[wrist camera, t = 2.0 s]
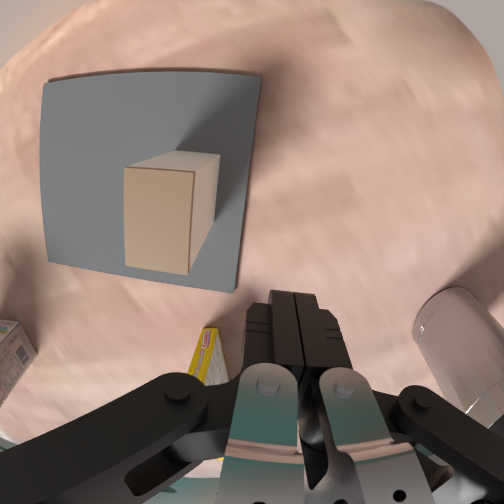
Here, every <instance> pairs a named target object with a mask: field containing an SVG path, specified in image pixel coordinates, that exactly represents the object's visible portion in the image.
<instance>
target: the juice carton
mask: <svg viewBox="0 0 504 504" xmlns="http://www.w3.org/2000/svg"><path fill="white" fill-rule="evenodd" d="M36 357H37V353H36V351H35V350H34V348H33V346H32V344H31V342H30V340H29V338H28V336H27V335H26V333H25V331H24V329H23V327H22V325H21V322H20V321H11V320H3V319H0V407H1V405H2V404H3V403H4V401H5V400H6V398H7V397H8V395H9V394H10V392H11V391H12V389H13V388H14V387H15V385H16V384H17V382H18V381H19V380H20V378H21V377H22V375H23V374H24V373H25V371H26V370H27V369H28V367H29V366H30V365H31V363H32V362H33V361H34V359H35V358H36Z"/></svg>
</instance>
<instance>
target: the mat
mask: <svg viewBox="0 0 504 504" xmlns="http://www.w3.org/2000/svg"><path fill="white" fill-rule="evenodd" d="M261 79H262V77H257V76H248V75H238V74H226V73H210V72H178V71H165V72H133V73H118V74H106V75H97V76H88V77H80V78H73V79H67V80H61V81H55V82H49V83H44V86H43V95H42V106H41V121H40V188H41V204H42V215H43V225H44V233H45V241H46V248H47V255H48V261H49V262H53V263H58V264H63V265H68V266H73V267H78V268H83V269H88V270H93V271H99V272H104V273H109V274H115V275H120V276H126V277H132V278H137V279H143V280H149V281H155V282H161V283H167V284H174V285H180V286H186V287H193V288H200V289H206V290H213V291H220V292H227V293H234V289H235V281H236V272H237V264H238V256H239V247H240V239H241V231H242V223H243V215H244V207H245V199H246V191H247V183H248V175H249V168H250V160H251V152H252V145H253V137H254V130H255V123H256V115H257V108H258V101H259V93H260V86H261ZM171 151H188V152H200V153H211V154H220V155H221V156H220V165H219V175H218V184H217V194H216V205H215V216H214V223H213V225H212V227H211V229H210V231H209V233H208V235H207V237H206V239H205V241H204V243H203V245H202V247H201V249H200V251H199V253H198V255H197V257H196V259H195V261H194V263H193V265H192V267H191V269H190V271H189V273H188V275H181V274H174V273H168V272H161V271H155V270H149V269H143V268H136V267H130V266H126V263H125V244H124V168H125V167H128V166H130V165H133V164H136V163H139V162H141V161H144V160H147V159H150V158H153V157H156V156H159V155H162V154H165V153H168V152H171Z"/></svg>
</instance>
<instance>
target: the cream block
mask: <svg viewBox="0 0 504 504" xmlns="http://www.w3.org/2000/svg"><path fill="white" fill-rule="evenodd" d="M220 156H221V155H220V154H211V153H200V152H188V151H171V152H168V153H165V154H162V155H159V156H156V157H153V158H150V159H147V160H144V161H141V162H139V163H136V164H133V165H130V166H128V167H125V168H124V244H125V263H126V266H130V267H136V268H143V269H149V270H155V271H161V272H168V273H174V274H181V275H188V273H189V271H190V269H191V267H192V265H193V263H194V261H195V259H196V257H197V255H198V253H199V251H200V249H201V247H202V245H203V243H204V241H205V239H206V237H207V235H208V233H209V231H210V229H211V227H212V225H213V223H214V216H215V205H216V194H217V184H218V175H219V165H220Z"/></svg>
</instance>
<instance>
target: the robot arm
mask: <svg viewBox="0 0 504 504" xmlns="http://www.w3.org/2000/svg"><path fill="white" fill-rule="evenodd" d="M413 337H414V340H415V342H416V344H417V345H418V347H419V349H420V351H421V353H422V354H423V356H424V358H425V360H426V362H427V364H428V366H429V368H430V370H431V372H432V373H433V375H434V377H435V379H436V381H437V383H438V385H439V387H440V389H441V391H442V393H443V395H444V397H445V399H446V400H445V399H443V398H442V397H440V396H439V395H437V394H436V393H434V392H433V391H432V390H430V389H428V388H426V387H423V386H419V385H412V386H408V387H406V388H404V389H403V390H402V391H401V393H400V394H399V396H395V395H390V394H386V393H381V392H377V391H374V390H372V389H371V387H370V385H369V383H368V381H367V380H366V378H365V377H364V376H363V375H361V374H360V373H358V372H356V371H354V370H353V367H352V364H351V361H350V358H349V355H348V352H347V349H346V345H345V342H344V340H343V336H342V333H341V331H340V327H339V324H338V321H337V319H336V318H335V317H334V316H333V315H332V314H331V312H330V311H329V310H325V309H319V307H318V303H317V299H316V296H315V294H308V293H299V292H293V293H292V292H289V291H280V290H270V294H269V299H268V304H264V303H256V302H254V303H253V304H252V305H251V306H250V308H249V309H248V310H247V314H246V321H245V328H244V335H243V342H242V352H241V364H240V373H239V374H238V375H237V376H236V377H235V378H234V379H232V380H231V381H229V382H226V383H223V384H218V385H209V386H205V385H204V383H203V382H202V381H200V380H199V379H198V378H196V377H194V376H192V375H190V374H186V373H180V372H172V373H167V374H163V375H161V376H159V377H157V378H155V379H153V380H151V381H150V382H148V383H146V384H144V385H142V386H140V387H138V388H136V389H135V390H133V391H131V392H129V393H127V394H125V395H123V396H121V397H119V398H117V399H115V400H113V401H111V402H109V403H108V404H106V405H104V406H102V407H100V408H98V409H96V410H94V411H91V412H89V413H87V414H85V415H83V416H81V417H79V418H77V419H75V420H73V421H71V422H69V423H66V424H64V425H62V426H60V427H58V428H56V429H53V430H51V431H49V432H47V433H45V434H42V435H40V436H38V437H36V438H33V439H31V440H29V441H26V442H24V443H22V444H19V445H17V446H14V447H12V448H10V449H7V450H5V451H2V452H0V504H142V503H144V502H145V501H147V500H148V499H150V498H151V497H153V496H155V495H156V494H158V493H159V492H161V491H162V490H164V489H165V488H167V487H168V486H170V485H171V484H173V483H174V482H176V481H177V480H179V479H180V478H182V477H183V476H184V475H186V474H187V473H189V472H190V471H191V470H193V469H194V468H195V467H197V466H198V465H200V464H201V463H202V462H203V460H210V459H217V458H223V457H224V460H223V465H222V470H221V474H220V480H219V484H218V490H217V494H216V499H215V504H504V329H503V328H502V326H501V325H500V324H499V323H498V322H497V321H496V319H495V318H494V317H493V316H492V315H491V314H490V313H489V312H488V310H487V309H486V308H485V307H484V306H483V305H482V304H481V303H480V302H479V301H478V300H477V299H476V298H475V297H474V296H473V295H472V294H471V293H470V292H469V291H468V290H467V289H464V288H462V287H452V288H448V289H445V290H443V291H441V292H440V293H438V294H436V295H435V296H434V297H432V298H431V299H430V300H429V301H428V302H427V303H426V304H425V305H424V307H423V308H422V309H421V311H420V312H419V314H418V316H417V318H416V320H415V323H414V327H413ZM298 424H299V429H298ZM297 430H298V431H297ZM417 443H420V444H421V445H422V446H424V447H425V448H427V449H428V450H429V451H431V452H432V453H434V454H435V455H436V456H438V457H440V458H441V459H442V460H444V461H445V462H446V463H448V464H449V465H447V466H440V465H438V464H436V463H435V462H433V461H432V460H431V459H429V458H428V457H426V456H425V455H424V454H422V453H421V452H420V451H418V450H417V449H415V448H414V447H415V446H416V444H417Z"/></svg>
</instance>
